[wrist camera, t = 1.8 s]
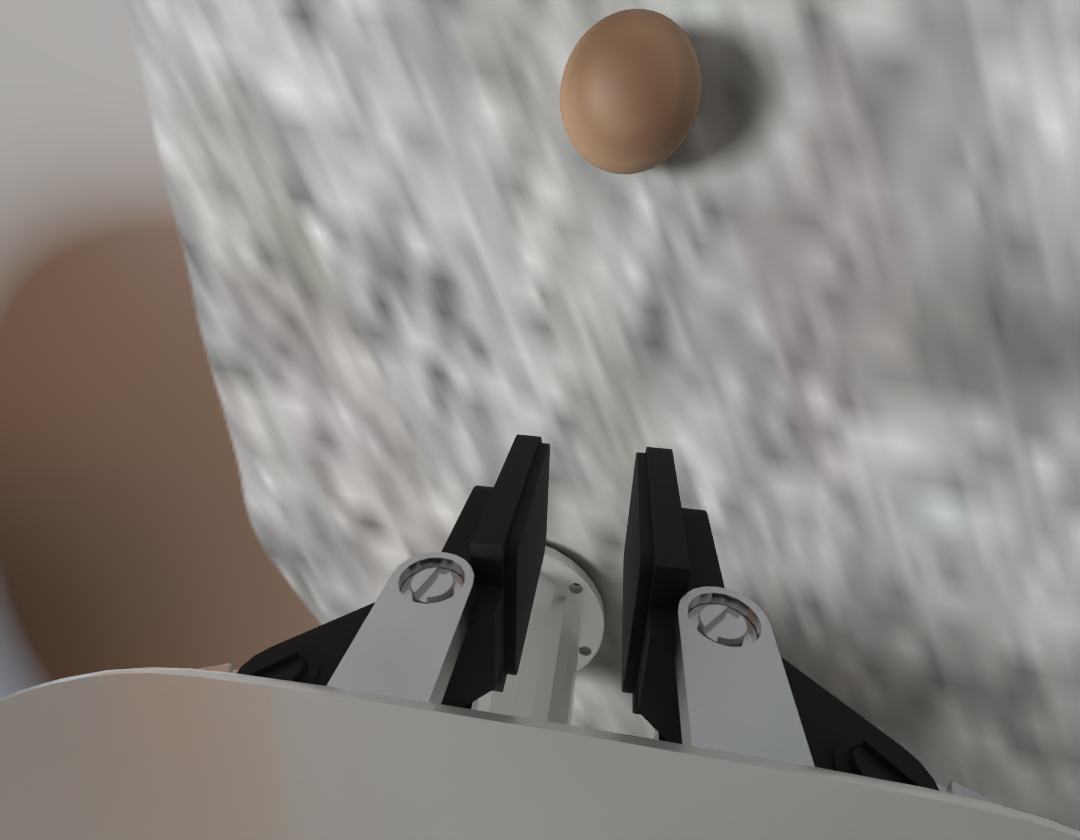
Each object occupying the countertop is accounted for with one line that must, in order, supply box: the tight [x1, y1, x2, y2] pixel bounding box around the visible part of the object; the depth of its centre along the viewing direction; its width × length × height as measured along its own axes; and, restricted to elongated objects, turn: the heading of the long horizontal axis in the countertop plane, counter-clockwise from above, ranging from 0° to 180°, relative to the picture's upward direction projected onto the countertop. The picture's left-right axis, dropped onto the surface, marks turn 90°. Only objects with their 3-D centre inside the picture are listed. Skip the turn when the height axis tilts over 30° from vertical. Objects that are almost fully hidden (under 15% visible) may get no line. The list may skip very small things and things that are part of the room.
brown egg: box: [560, 9, 702, 174], centre depth 21 cm, size 6×6×6 cm
